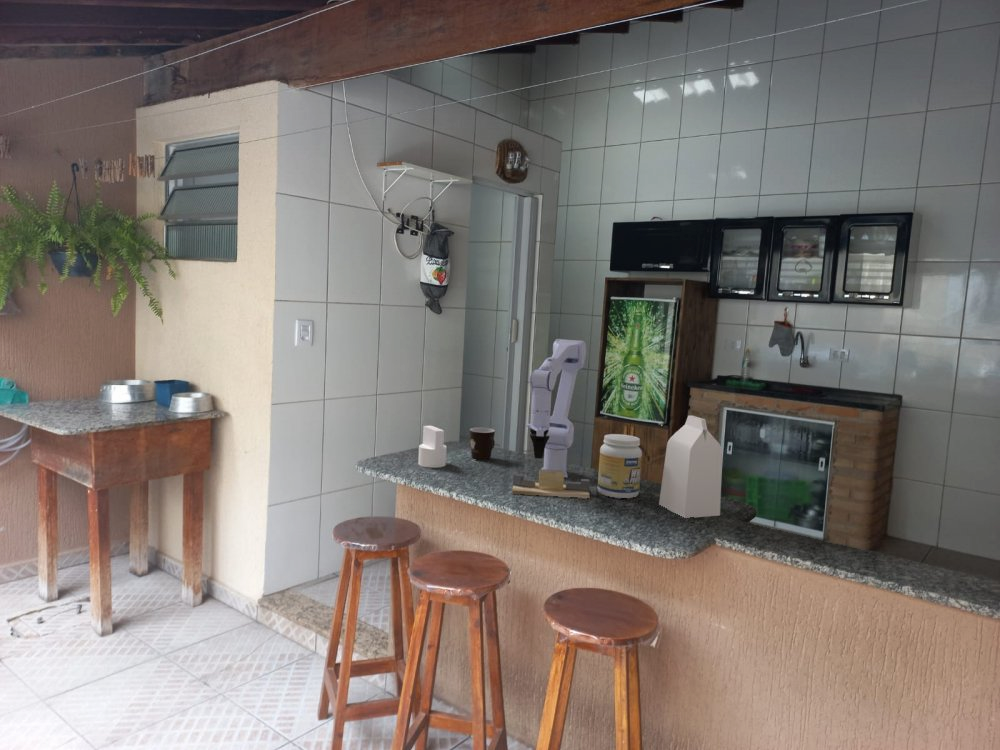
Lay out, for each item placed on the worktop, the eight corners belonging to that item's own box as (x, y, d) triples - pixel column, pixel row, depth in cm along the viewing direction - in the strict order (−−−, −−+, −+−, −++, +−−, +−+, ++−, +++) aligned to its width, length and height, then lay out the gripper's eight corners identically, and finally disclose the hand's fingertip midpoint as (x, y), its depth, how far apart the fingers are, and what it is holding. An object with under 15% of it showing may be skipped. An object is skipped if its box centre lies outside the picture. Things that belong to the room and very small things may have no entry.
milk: (658, 504, 195) (666, 413, 192) (693, 502, 199) (700, 413, 196) (684, 518, 184) (692, 422, 181) (719, 515, 188) (728, 421, 185)
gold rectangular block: (538, 485, 205) (539, 469, 204) (562, 486, 205) (563, 470, 204) (538, 489, 201) (539, 472, 200) (562, 490, 201) (563, 473, 200)
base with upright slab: (450, 465, 227) (452, 429, 225) (426, 468, 222) (428, 431, 220) (437, 459, 234) (438, 424, 233) (413, 462, 229) (414, 426, 228)
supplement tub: (629, 502, 196) (633, 443, 194) (590, 494, 202) (594, 437, 200) (645, 493, 206) (649, 437, 204) (607, 485, 213) (610, 431, 211)
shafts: (512, 482, 206) (513, 473, 206) (587, 487, 206) (588, 477, 205) (512, 487, 202) (513, 476, 202) (589, 491, 201) (589, 481, 201)
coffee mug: (467, 455, 243) (469, 427, 242) (492, 455, 244) (493, 427, 243) (469, 463, 231) (471, 434, 230) (495, 464, 232) (497, 434, 231)
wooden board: (513, 484, 208) (513, 481, 208) (586, 488, 208) (586, 485, 207) (512, 494, 198) (512, 490, 198) (589, 498, 198) (589, 495, 198)
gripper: (527, 405, 213) (524, 449, 214) (527, 413, 198) (524, 460, 200) (550, 407, 212) (547, 450, 214) (552, 415, 198) (549, 461, 200)
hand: (538, 455), depth 207 cm, fingers open, 7 cm apart
